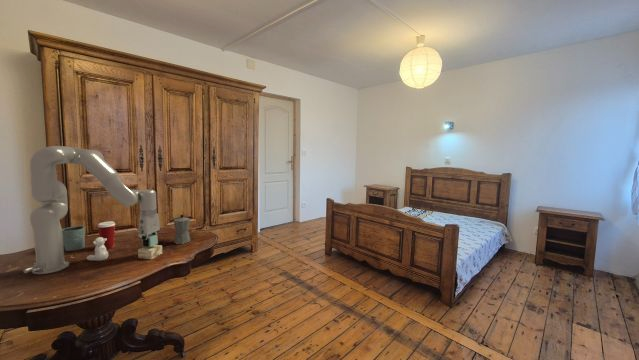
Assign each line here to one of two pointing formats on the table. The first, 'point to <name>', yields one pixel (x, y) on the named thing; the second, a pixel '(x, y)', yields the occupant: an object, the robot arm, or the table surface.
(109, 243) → the coffee cup
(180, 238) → the coffeepot
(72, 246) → the teal plant pot
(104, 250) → the sitting furry creature
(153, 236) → the teal cube
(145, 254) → the beech block
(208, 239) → the table surface
